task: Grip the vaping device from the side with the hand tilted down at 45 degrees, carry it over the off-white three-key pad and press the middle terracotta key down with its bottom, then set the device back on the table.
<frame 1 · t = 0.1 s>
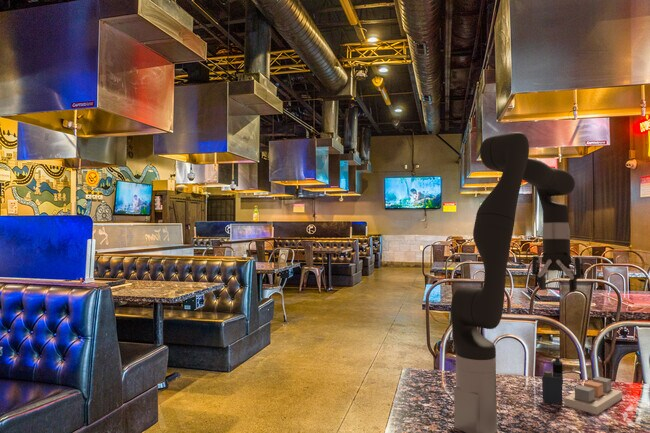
hand: (557, 290, 135), 29 cm above the table, tool pointing down, fingers open, 8 cm apart
key left: (584, 393, 118), point 4 cm above the table, slide at 0.0 cm
key right: (602, 384, 126), point 4 cm above the table, slide at 0.0 cm
key mid: (593, 388, 122), point 4 cm above the table, slide at 0.0 cm
vaping device: (553, 402, 122), on the table
keypad base: (593, 401, 122), on the table
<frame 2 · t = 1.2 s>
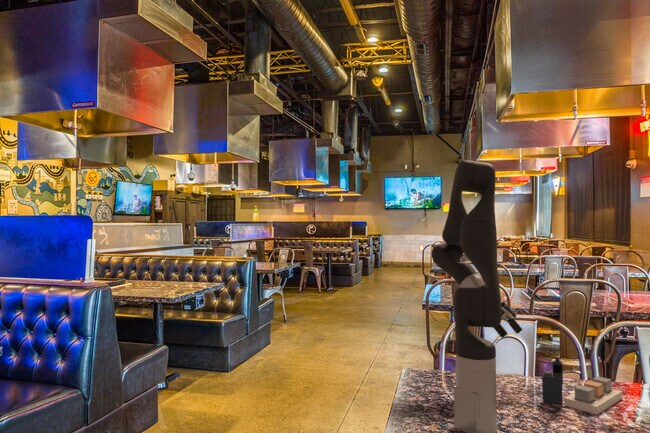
hand: (512, 333, 131), 17 cm above the table, tool tilted 45°, fingers open, 8 cm apart
nothing on the table moved.
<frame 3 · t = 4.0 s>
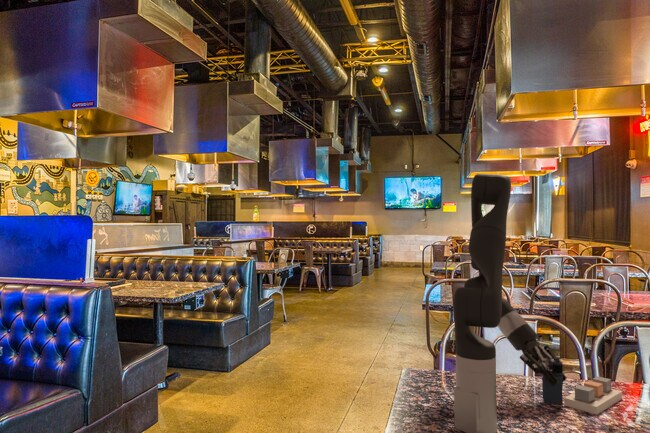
hand: (559, 382, 120), 6 cm above the table, tool tilted 45°, fingers closed on vaping device, 4 cm apart
vaping device: (553, 402, 122), on the table, touching gripper
everything else where it was.
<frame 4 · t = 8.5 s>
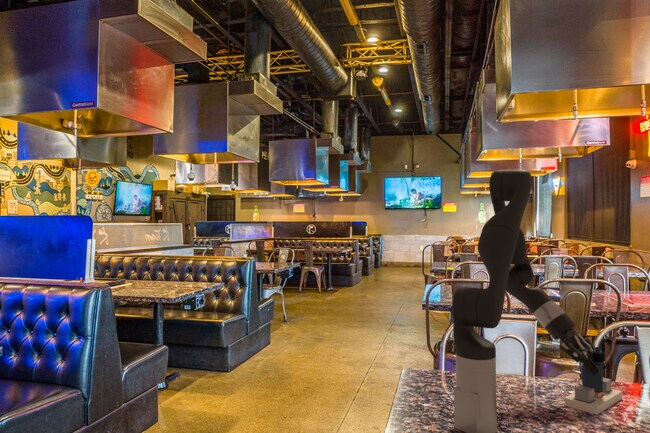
hand: (600, 370, 121), 9 cm above the table, tool tilted 45°, fingers closed on vaping device, 4 cm apart
key mid: (593, 396, 122), point 2 cm above the table, slide at 2.0 cm, touching vaping device
vaping device: (592, 391, 122), point 3 cm above the table, touching gripper, key mid
everything else where it was.
when the fingers open (7 cm above the table, at t = 13.3 s): vaping device drops 1 cm, on the table.
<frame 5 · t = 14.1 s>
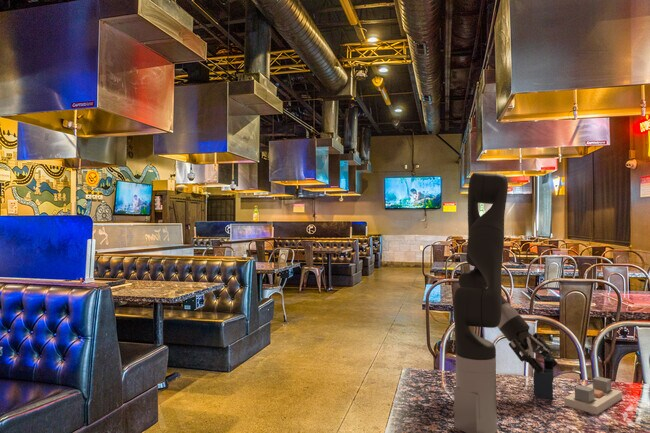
hand: (548, 368, 125), 8 cm above the table, tool tilted 45°, fingers open, 8 cm apart
key mid: (593, 396, 122), point 2 cm above the table, slide at 2.0 cm
vaping device: (543, 397, 125), on the table
everything else where it was.
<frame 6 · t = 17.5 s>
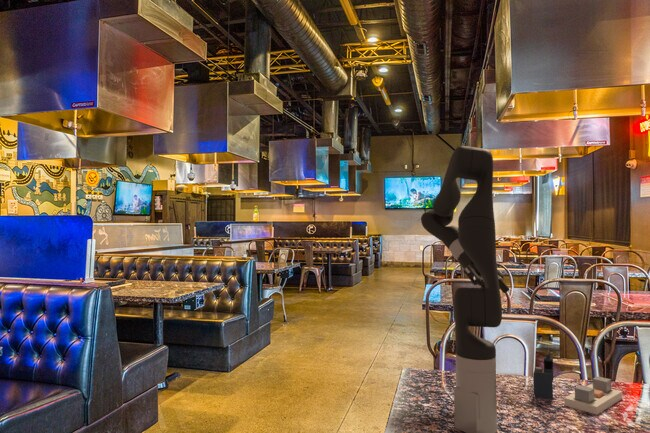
hand: (499, 292, 134), 29 cm above the table, tool tilted 45°, fingers open, 8 cm apart
nothing on the table moved.
at the end: key mid slide at 2.0 cm; key left slide at 0.0 cm; key right slide at 0.0 cm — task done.
